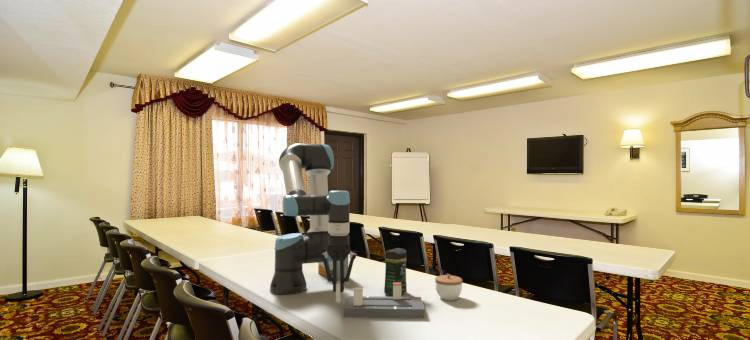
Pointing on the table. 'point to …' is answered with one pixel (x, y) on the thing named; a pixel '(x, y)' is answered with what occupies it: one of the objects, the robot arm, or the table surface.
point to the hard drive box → (322, 268)
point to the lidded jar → (448, 286)
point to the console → (385, 307)
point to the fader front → (358, 296)
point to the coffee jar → (395, 270)
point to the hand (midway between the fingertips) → (338, 301)
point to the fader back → (396, 290)
